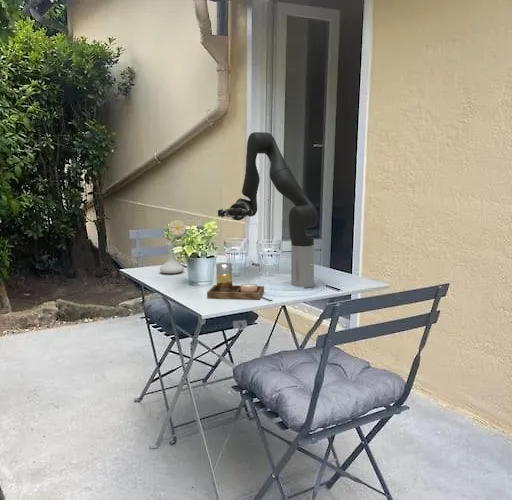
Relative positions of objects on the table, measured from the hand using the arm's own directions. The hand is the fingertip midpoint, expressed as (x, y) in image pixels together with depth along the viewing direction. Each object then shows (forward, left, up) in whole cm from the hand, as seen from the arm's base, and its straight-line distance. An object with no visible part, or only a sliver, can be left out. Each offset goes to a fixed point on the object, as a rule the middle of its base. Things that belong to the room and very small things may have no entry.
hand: (232, 214), depth 222 cm
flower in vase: (+34, -24, -30) cm, 51 cm away
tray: (-4, +17, -30) cm, 35 cm away
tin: (0, +17, -29) cm, 34 cm away
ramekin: (-9, +17, -29) cm, 35 cm away
